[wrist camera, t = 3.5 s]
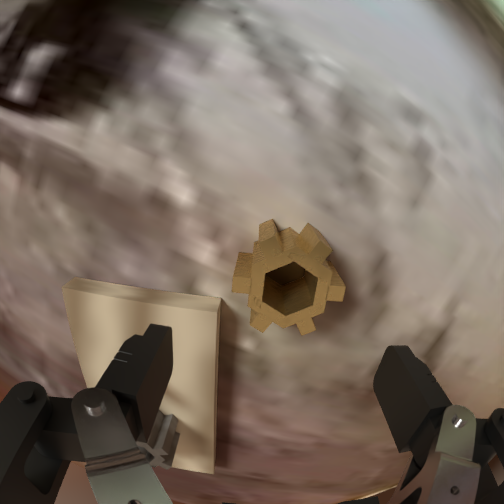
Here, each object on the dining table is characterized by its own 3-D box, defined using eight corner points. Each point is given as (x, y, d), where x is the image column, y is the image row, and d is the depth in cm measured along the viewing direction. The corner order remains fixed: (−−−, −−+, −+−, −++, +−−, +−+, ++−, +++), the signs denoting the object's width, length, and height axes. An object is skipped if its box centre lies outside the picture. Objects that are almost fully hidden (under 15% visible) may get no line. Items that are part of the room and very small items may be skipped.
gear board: (221, 298, 20) (205, 356, 14) (215, 460, 27) (209, 505, 21) (75, 276, 20) (26, 315, 14) (118, 439, 27) (102, 479, 21)
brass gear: (336, 226, 18) (354, 244, 14) (321, 305, 20) (333, 337, 16) (242, 215, 18) (236, 231, 15) (235, 297, 20) (229, 329, 16)
